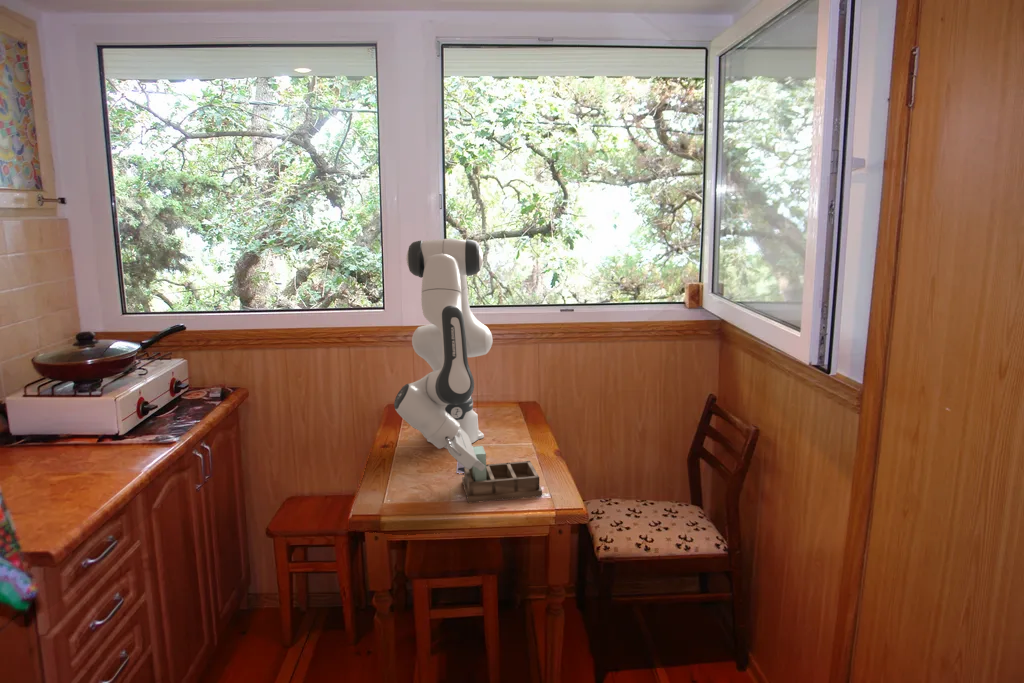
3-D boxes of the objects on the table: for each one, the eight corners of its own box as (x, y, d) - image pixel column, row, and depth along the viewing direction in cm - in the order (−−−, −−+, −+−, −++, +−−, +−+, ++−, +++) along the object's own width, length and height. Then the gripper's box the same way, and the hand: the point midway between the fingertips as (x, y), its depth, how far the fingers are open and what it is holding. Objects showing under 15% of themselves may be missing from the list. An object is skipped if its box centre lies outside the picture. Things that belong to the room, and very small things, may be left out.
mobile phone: (456, 472, 208) (457, 453, 223) (456, 475, 208) (458, 456, 223) (482, 471, 209) (482, 452, 223) (482, 474, 209) (482, 455, 223)
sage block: (472, 477, 199) (471, 446, 197) (483, 476, 199) (482, 445, 197) (475, 485, 193) (474, 454, 191) (486, 484, 194) (485, 453, 192)
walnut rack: (462, 481, 203) (461, 465, 202) (531, 475, 206) (531, 459, 205) (468, 502, 189) (468, 485, 188) (542, 495, 193) (542, 478, 192)
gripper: (456, 436, 181) (495, 469, 185) (448, 411, 201) (483, 442, 205) (439, 454, 181) (478, 486, 185) (433, 428, 201) (468, 458, 205)
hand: (481, 463), depth 195 cm, fingers closed on sage block, 6 cm apart
